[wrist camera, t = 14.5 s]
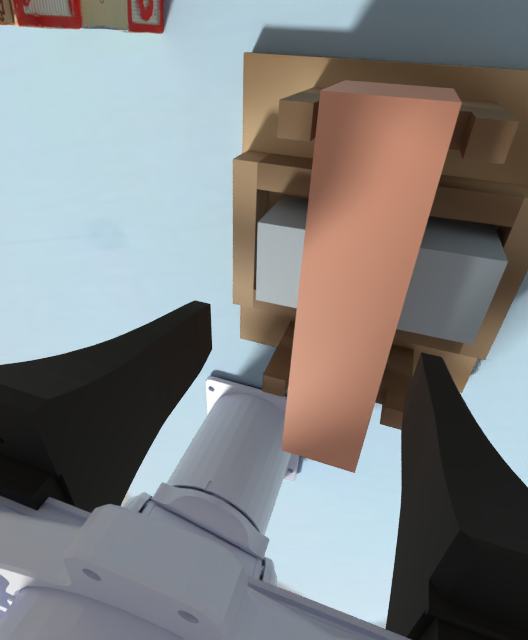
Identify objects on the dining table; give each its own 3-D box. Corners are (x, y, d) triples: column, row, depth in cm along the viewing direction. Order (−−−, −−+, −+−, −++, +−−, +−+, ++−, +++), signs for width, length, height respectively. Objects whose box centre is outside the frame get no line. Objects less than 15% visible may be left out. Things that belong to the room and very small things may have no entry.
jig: (460, 381, 24) (468, 464, 20) (245, 329, 28) (206, 390, 23) (598, 74, 15) (677, 88, 10) (251, 52, 19) (189, 54, 14)
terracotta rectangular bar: (365, 410, 22) (354, 472, 18) (302, 393, 22) (281, 450, 19) (453, 88, 13) (461, 102, 10) (345, 79, 14) (320, 90, 11)
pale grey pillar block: (466, 299, 21) (472, 344, 17) (279, 265, 23) (255, 299, 20) (494, 224, 18) (507, 261, 15) (283, 195, 21) (257, 222, 18)
